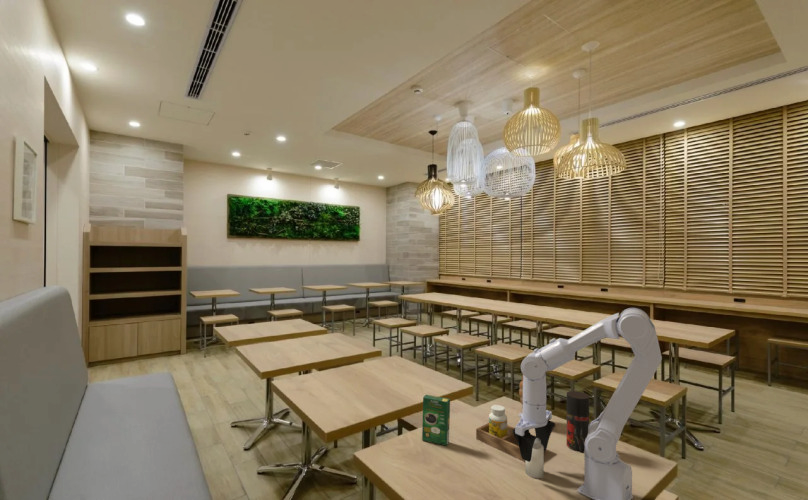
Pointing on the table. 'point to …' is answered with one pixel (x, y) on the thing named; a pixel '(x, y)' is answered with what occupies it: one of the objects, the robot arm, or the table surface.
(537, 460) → the shaker
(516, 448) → the caddy
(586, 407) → the deodorant
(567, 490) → the table surface
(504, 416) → the supplement bottle
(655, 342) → the robot arm
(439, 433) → the coffee box
